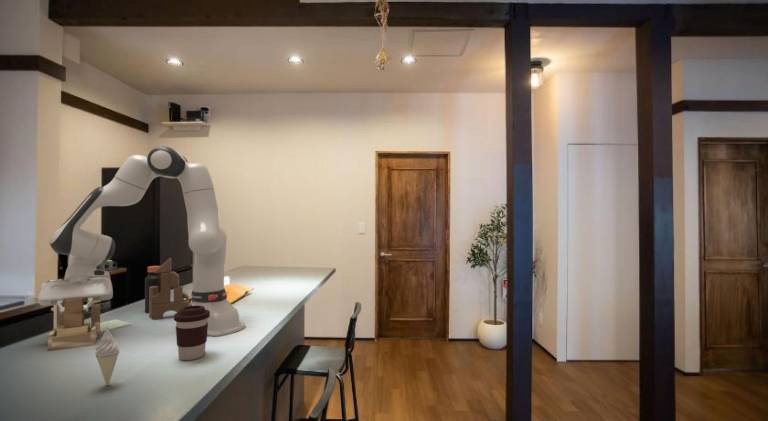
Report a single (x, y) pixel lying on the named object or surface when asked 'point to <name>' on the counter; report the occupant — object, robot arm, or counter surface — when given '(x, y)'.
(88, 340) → the tan piece
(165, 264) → the wooden toy
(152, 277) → the bottle
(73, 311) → the block
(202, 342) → the coffee cup
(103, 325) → the pad
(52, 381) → the counter surface
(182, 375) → the counter surface
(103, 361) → the ice cream cone
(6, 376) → the counter surface
